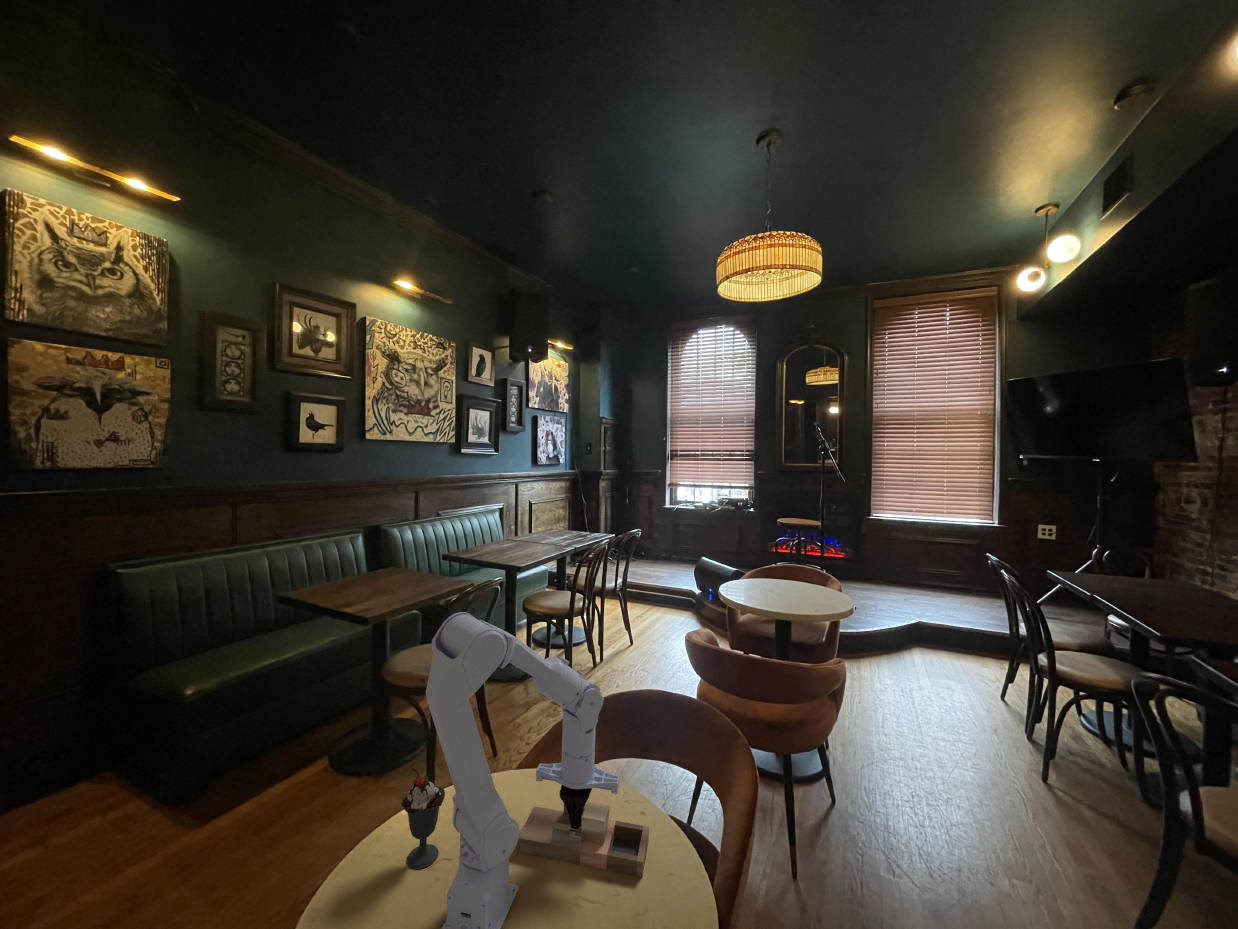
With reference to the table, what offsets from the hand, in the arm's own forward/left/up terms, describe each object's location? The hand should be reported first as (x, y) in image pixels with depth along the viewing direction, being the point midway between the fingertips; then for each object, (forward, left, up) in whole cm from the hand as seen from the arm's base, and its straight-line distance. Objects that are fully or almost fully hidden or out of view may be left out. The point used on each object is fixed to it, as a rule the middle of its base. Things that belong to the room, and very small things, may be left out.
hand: (576, 824), depth 85 cm
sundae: (-8, +24, -4) cm, 26 cm away
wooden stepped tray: (0, -2, -3) cm, 4 cm away
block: (0, -3, -1) cm, 4 cm away
